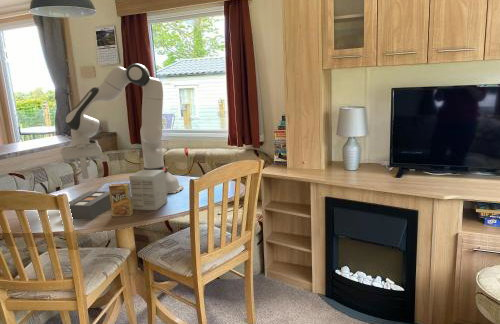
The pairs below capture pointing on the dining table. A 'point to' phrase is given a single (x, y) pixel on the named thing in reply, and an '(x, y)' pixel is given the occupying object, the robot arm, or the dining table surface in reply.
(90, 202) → the board
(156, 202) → the supplement box
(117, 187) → the candy box
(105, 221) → the dining table surface
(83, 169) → the steel stylus
